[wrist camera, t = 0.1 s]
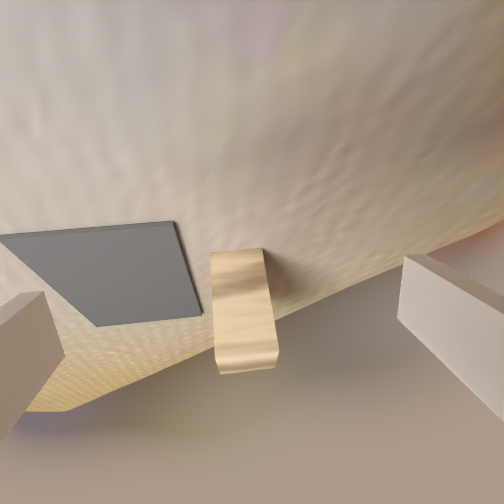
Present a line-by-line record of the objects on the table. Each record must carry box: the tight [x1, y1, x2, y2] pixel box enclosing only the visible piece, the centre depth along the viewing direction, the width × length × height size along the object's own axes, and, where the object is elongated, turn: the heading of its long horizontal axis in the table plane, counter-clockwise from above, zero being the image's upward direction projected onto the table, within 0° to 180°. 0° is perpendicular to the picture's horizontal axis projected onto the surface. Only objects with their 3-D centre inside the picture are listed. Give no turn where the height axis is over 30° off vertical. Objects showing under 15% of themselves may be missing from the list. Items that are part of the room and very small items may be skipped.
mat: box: [0, 221, 202, 327], centre depth 38 cm, size 22×16×1 cm
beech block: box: [210, 248, 279, 374], centre depth 34 cm, size 6×6×12 cm
